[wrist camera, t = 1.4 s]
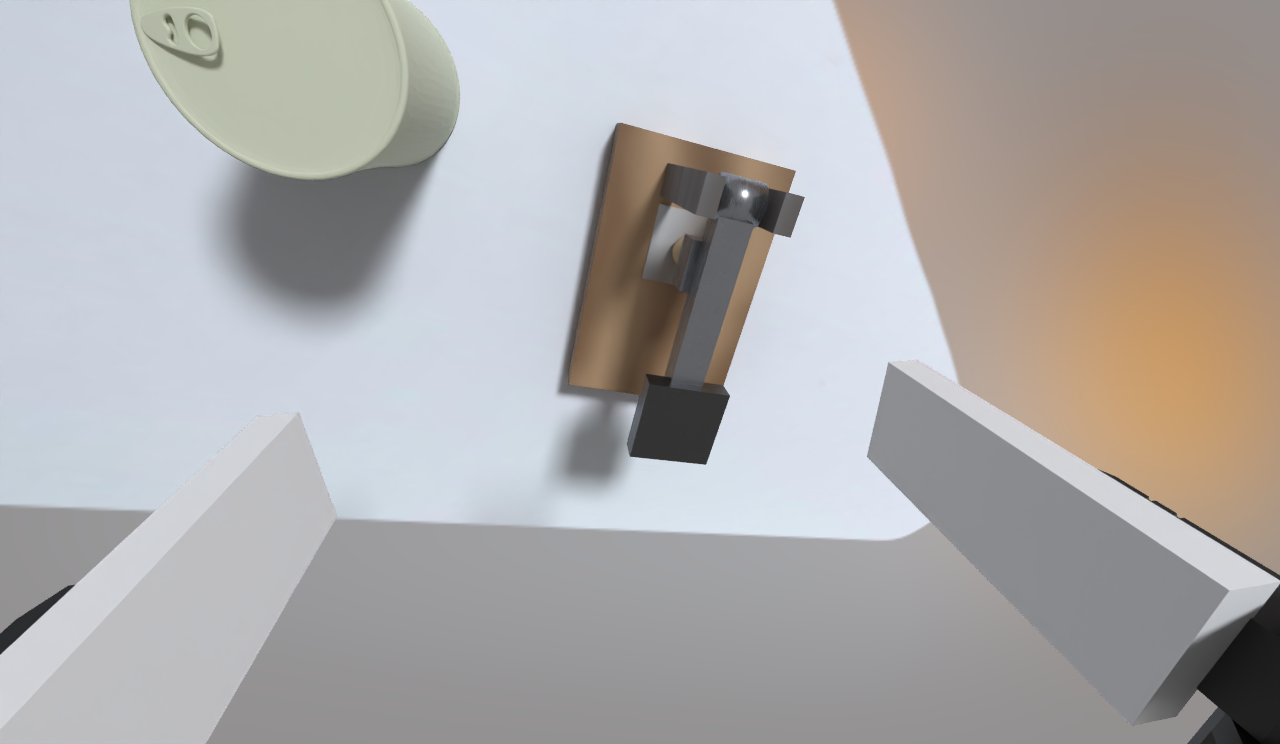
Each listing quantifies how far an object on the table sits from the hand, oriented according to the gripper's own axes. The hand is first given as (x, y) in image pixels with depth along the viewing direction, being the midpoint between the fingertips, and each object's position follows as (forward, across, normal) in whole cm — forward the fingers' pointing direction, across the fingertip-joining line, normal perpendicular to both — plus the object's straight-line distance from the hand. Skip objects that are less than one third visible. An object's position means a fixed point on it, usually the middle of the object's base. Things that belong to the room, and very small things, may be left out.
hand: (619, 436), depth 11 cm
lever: (+19, +7, -4) cm, 21 cm away
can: (+26, -11, +9) cm, 29 cm away
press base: (+25, +7, -3) cm, 26 cm away
